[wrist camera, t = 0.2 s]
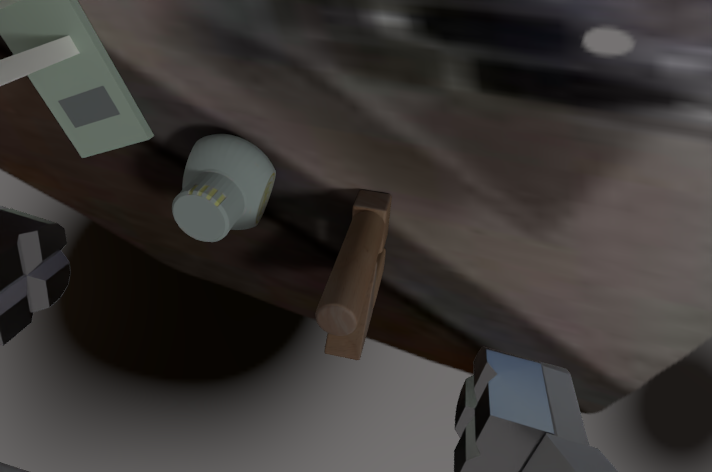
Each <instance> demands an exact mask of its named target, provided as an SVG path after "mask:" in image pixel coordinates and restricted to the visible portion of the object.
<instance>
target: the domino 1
mask: <svg viewBox="0 0 712 472" xmlns="http://www.w3.org/2000/svg"><path fill="white" fill-rule="evenodd" d="M18 1H20V0H0V9H3V8H5V7H7V6H9V5H12V4H14V3H16V2H18Z"/></svg>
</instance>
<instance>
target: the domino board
mask: <svg viewBox="0 0 712 472" xmlns="http://www.w3.org/2000/svg"><path fill="white" fill-rule="evenodd" d="M0 35H1V36H2V38H3V39H4V41H5V42H6V44H7V45H8V47H9V48H10V50H11V51H12V53H13V54H14V55H15V54H18V53H21V52H24V51H27V50H29V49H32V48H35V47H38V46H41V45H43V44H46V43H49V42H52V41H55V40H57V39H60V38H63V37H66V36H68V35H69V36H70V38H71V39H72V41H73V43H74V44H75V46H76V48H77V49H78V51H79V54H77V55H75V56H72V57H70V58H67V59H65V60H62V61H60V62H58V63H55V64H53V65H50V66H48V67H46V68H43V69H41V70H38V71H36V72H33V73H31V74H29V75H27V76H28V77H29V79H30V80H31V82H32V83H33V85H34V86H35V88H36V89H37V91H38V92H39V94H40V95H41V97H42V98H43V100H44V101H45V103H46V104H47V106H48V107H49V109H50V110H51V112H52V113H53V115H54V116H55V118H56V119H57V121H58V122H59V124H60V125H61V127H62V128H63V130H64V131H65V133H66V134H67V136H68V137H69V139H70V140H71V142H72V143H73V145H74V146H75V148H76V149H77V151H78V153H79V154H80V156H81V157H82V158H84V157H88V156H92V155H95V154H99V153H102V152H106V151H110V150H113V149H117V148H120V147H124V146H128V145H131V144H135V143H138V142H142V141H145V140H149V139H150V138H152V137H153V136H154V135H153V133H152V131H151V129H150V128H149V126H148V124H147V122H146V121H145V119H144V117H143V115H142V114H141V112H140V110H139V108H138V107H137V105H136V103H135V101H134V99H133V98H132V96H131V94H130V92H129V91H128V89H127V87H126V85H125V84H124V82H123V80H122V78H121V77H120V75H119V73H118V71H117V70H116V68H115V66H114V64H113V62H112V61H111V59H110V57H109V55H108V54H107V52H106V50H105V48H104V47H103V45H102V43H101V41H100V40H99V38H98V36H97V34H96V33H95V31H94V29H93V27H92V26H91V24H90V22H89V20H88V18H87V17H86V15H85V13H84V11H83V10H82V8H81V6H80V4H79V3H78V1H77V0H20V1H18V2H16V3H14V4H12V5H9V6H7V7H5V8H3V9H0Z"/></svg>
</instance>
